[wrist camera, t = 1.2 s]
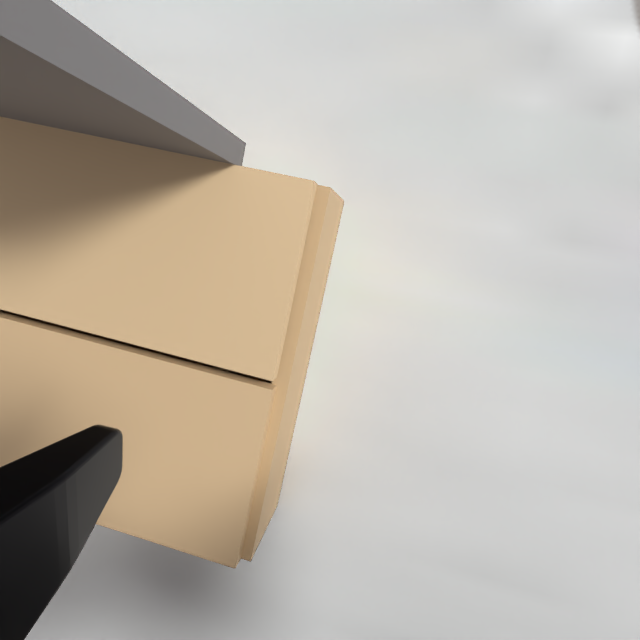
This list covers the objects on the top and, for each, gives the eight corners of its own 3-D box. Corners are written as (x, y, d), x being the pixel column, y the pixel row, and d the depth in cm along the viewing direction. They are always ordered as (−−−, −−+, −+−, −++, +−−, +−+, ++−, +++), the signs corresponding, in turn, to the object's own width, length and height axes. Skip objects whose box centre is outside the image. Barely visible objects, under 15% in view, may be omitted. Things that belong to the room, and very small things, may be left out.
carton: (277, 505, 22) (245, 572, 17) (-59, 405, 24) (-165, 440, 19) (344, 201, 19) (327, 184, 15) (-36, 121, 22) (-151, 86, 17)
